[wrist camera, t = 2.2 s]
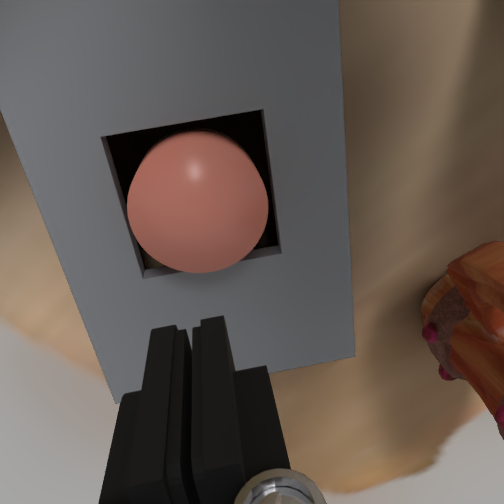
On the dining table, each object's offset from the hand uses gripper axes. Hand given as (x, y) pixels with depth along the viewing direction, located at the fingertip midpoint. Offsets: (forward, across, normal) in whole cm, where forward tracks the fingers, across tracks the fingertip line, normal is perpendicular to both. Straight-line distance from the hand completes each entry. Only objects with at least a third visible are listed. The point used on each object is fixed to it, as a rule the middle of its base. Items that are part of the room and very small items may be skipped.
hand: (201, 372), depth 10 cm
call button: (+13, 0, -1) cm, 13 cm away
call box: (+17, 0, -1) cm, 17 cm away
